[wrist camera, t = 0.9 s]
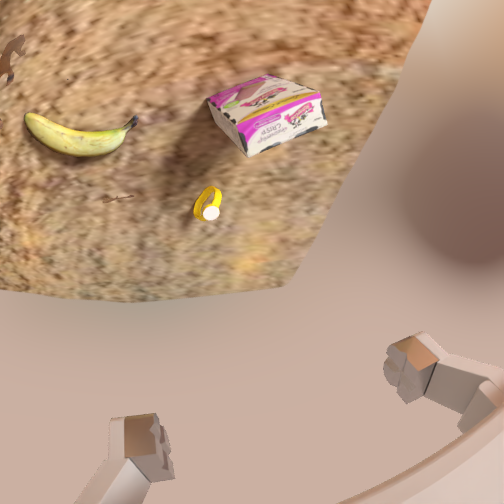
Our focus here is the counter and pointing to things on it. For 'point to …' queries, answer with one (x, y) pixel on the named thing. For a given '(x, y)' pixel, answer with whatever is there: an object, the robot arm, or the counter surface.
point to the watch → (211, 209)
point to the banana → (60, 136)
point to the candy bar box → (266, 113)
